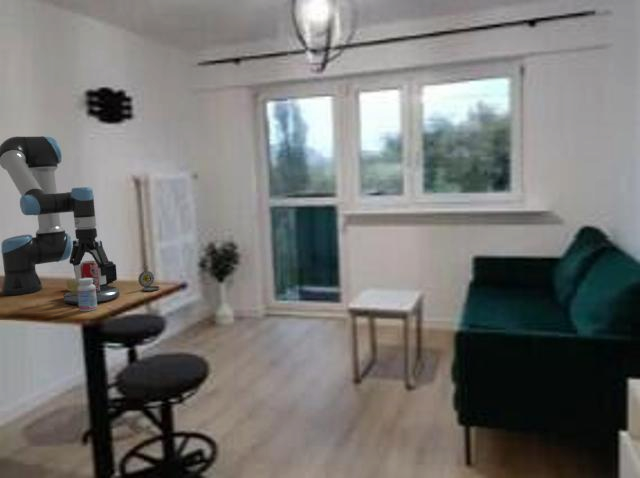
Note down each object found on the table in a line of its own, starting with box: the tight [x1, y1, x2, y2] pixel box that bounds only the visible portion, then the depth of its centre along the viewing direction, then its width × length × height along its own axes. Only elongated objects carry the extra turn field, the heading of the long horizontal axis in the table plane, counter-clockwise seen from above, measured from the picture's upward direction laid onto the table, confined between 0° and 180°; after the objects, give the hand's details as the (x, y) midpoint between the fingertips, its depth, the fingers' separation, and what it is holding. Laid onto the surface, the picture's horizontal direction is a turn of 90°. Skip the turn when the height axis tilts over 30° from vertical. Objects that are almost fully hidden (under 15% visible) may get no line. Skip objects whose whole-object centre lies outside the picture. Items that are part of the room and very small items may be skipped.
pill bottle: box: [77, 278, 98, 313], centre depth 199 cm, size 6×6×11 cm
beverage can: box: [80, 260, 100, 292], centre depth 215 cm, size 6×6×12 cm
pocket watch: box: [138, 264, 160, 292], centre depth 229 cm, size 8×8×10 cm
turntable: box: [63, 279, 120, 305], centre depth 216 cm, size 23×20×6 cm
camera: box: [97, 260, 118, 287], centre depth 239 cm, size 11×11×15 cm
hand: (91, 283), depth 215 cm, fingers open, 13 cm apart
